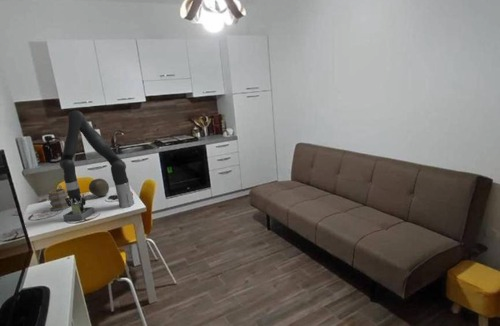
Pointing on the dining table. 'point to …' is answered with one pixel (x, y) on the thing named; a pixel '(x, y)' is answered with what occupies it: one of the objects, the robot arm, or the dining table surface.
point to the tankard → (58, 199)
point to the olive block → (76, 209)
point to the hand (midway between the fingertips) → (78, 211)
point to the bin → (78, 215)
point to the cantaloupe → (99, 187)
